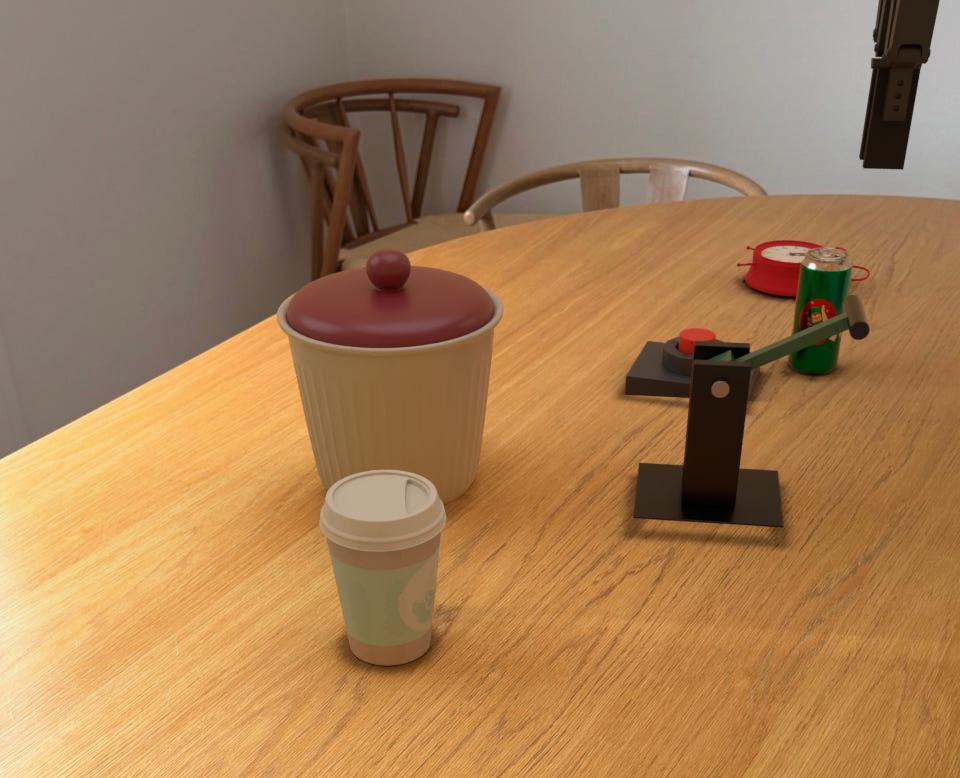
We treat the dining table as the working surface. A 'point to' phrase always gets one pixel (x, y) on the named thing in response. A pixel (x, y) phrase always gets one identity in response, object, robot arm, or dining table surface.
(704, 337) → the button
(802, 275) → the soda can
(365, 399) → the canister
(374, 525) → the coffee cup
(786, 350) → the lever
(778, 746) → the dining table surface
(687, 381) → the button box
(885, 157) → the robot arm
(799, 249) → the alarm clock
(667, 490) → the bracket
